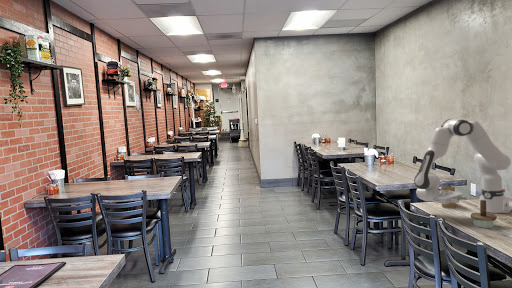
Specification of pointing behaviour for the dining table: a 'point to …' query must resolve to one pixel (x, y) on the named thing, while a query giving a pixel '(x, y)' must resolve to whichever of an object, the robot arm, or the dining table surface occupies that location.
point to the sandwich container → (450, 205)
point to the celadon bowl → (484, 223)
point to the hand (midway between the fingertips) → (462, 200)
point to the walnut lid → (483, 213)
